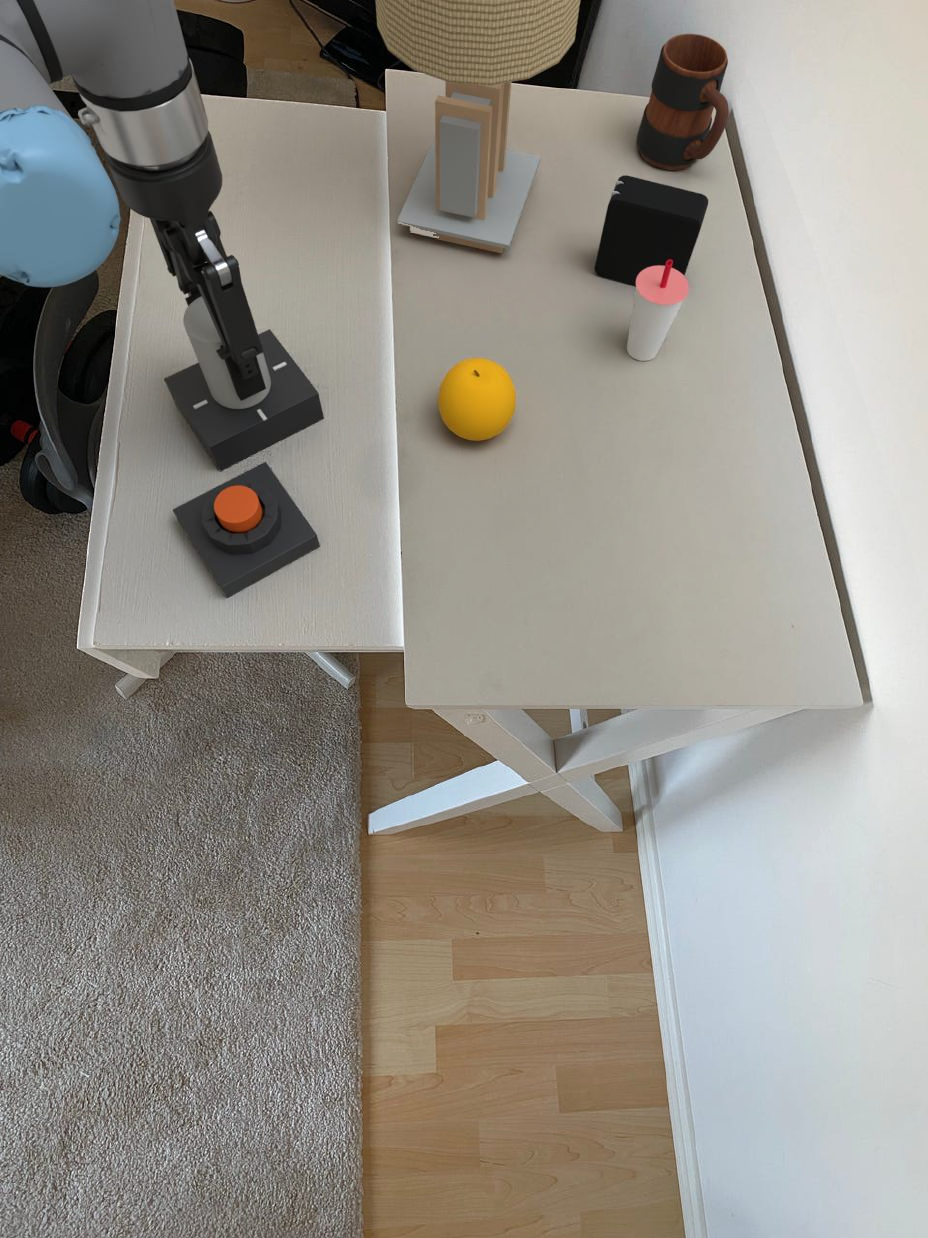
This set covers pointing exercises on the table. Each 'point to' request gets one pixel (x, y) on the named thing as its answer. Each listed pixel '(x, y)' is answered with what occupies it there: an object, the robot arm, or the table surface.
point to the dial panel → (253, 427)
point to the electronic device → (648, 228)
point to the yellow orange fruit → (477, 399)
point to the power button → (238, 509)
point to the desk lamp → (475, 106)
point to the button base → (248, 532)
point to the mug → (684, 103)
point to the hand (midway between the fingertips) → (235, 368)
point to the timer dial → (217, 358)
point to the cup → (654, 309)
